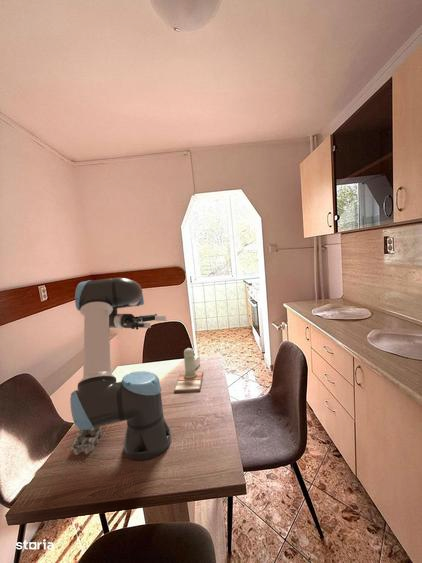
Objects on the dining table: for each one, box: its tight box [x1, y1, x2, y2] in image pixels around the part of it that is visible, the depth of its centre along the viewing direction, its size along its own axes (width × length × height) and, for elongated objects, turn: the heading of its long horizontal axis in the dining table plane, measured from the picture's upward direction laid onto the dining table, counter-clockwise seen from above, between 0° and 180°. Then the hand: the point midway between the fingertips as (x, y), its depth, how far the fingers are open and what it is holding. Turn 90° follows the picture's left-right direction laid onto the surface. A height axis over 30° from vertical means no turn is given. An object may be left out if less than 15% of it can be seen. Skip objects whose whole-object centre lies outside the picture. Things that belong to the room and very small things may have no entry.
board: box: [173, 371, 204, 394], centre depth 127 cm, size 18×12×1 cm, turn 177°
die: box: [194, 355, 201, 369], centre depth 146 cm, size 5×5×5 cm
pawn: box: [183, 347, 198, 379], centre depth 131 cm, size 6×6×14 cm
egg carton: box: [69, 426, 103, 456], centre depth 89 cm, size 11×8×4 cm
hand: (158, 321), depth 131 cm, fingers open, 13 cm apart
